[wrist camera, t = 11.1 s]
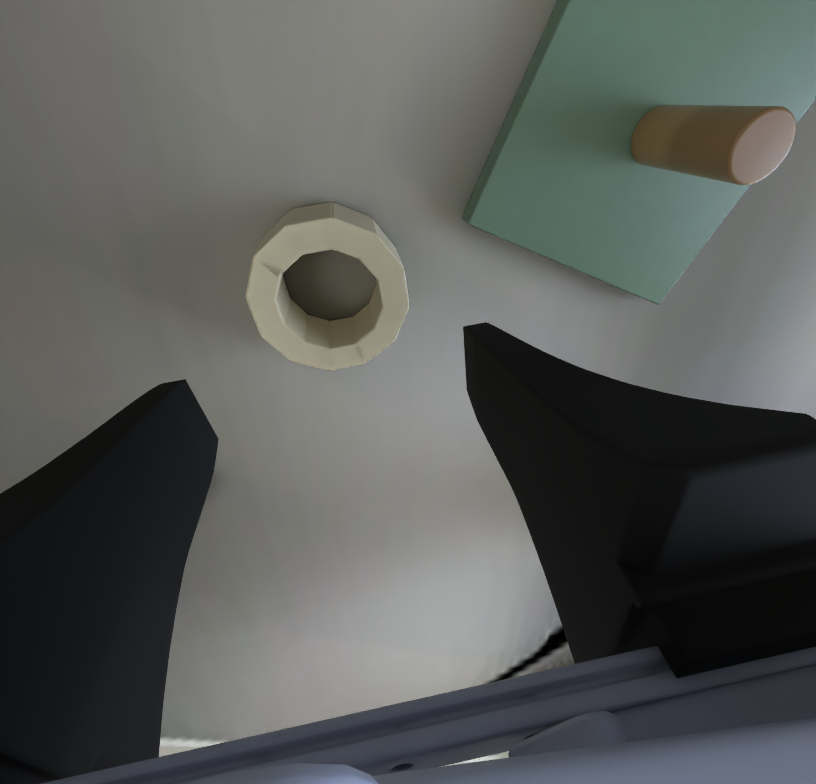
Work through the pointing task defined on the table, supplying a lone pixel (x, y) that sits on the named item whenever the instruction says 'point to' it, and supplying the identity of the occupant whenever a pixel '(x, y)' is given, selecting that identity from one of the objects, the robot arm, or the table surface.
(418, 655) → the table surface
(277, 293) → the tape roll
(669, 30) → the tape stand
